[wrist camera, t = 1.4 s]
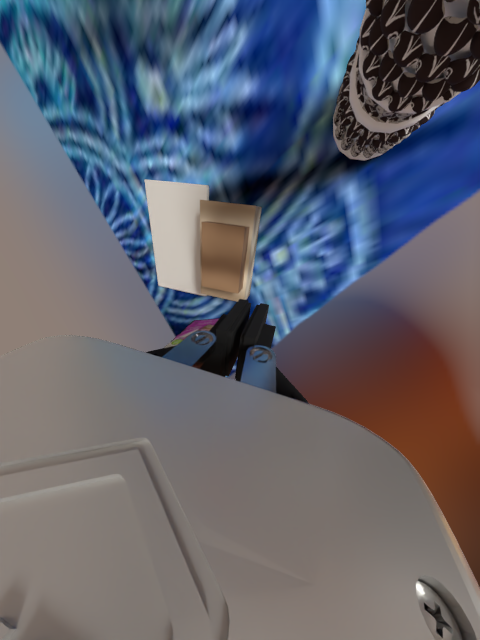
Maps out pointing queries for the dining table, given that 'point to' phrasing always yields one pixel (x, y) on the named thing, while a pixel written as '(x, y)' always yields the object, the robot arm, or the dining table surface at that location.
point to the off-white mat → (176, 232)
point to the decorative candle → (404, 71)
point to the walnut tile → (224, 255)
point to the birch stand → (235, 216)
